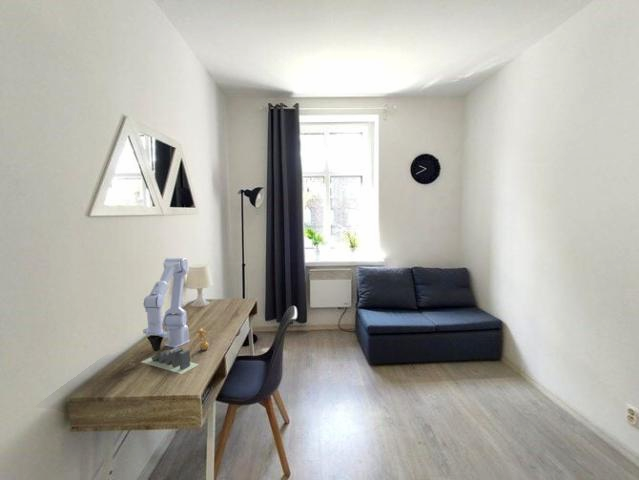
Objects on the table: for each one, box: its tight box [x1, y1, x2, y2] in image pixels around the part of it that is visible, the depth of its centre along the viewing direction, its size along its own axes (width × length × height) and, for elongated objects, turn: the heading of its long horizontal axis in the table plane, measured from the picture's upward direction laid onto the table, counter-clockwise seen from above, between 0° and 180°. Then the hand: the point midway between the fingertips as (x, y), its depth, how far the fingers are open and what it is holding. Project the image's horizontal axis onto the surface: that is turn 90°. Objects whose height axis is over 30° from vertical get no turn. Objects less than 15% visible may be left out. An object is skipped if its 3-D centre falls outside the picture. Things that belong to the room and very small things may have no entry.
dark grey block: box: [172, 347, 184, 367], centre depth 134 cm, size 2×4×7 cm, turn 154°
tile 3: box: [165, 347, 179, 365], centre depth 136 cm, size 2×4×7 cm
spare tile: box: [158, 348, 174, 363], centre depth 137 cm, size 2×4×7 cm
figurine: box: [193, 327, 211, 351], centre depth 149 cm, size 8×6×12 cm
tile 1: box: [151, 349, 169, 361], centre depth 139 cm, size 2×4×7 cm
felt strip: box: [141, 356, 199, 375], centre depth 137 cm, size 9×26×1 cm, turn 64°
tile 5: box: [179, 349, 191, 370], centre depth 132 cm, size 2×4×7 cm, turn 154°
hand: (156, 350), depth 140 cm, fingers closed
